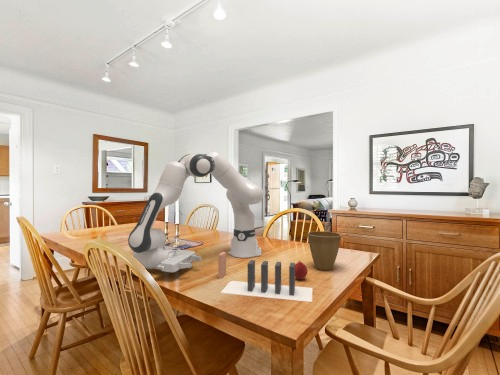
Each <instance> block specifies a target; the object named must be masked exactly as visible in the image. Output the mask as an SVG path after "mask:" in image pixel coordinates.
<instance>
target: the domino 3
mask: <svg viewBox="0 0 500 375" xmlns="http://www.w3.org/2000/svg"><path fill="white" fill-rule="evenodd" d="M274 285H275V294H280V291H281V285H282V261H276V263H275V266H274Z"/></svg>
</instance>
